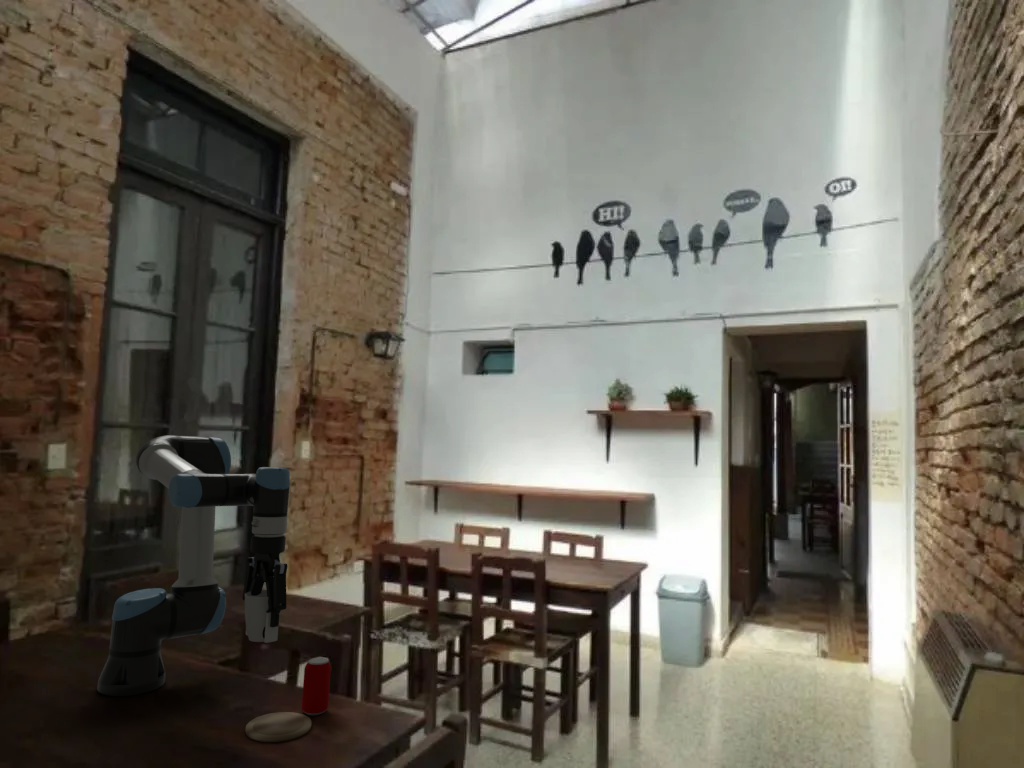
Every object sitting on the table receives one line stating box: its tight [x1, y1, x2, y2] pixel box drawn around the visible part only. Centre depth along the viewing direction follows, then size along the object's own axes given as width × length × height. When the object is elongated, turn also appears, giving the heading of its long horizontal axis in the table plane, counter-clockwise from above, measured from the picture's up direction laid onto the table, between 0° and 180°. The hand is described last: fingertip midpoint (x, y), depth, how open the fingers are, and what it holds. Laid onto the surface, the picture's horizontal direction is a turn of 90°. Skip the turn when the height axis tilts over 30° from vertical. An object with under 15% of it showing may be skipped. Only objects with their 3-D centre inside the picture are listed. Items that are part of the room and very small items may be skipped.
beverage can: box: [301, 657, 332, 716], centre depth 158 cm, size 6×6×12 cm
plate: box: [244, 711, 312, 743], centre depth 148 cm, size 14×14×1 cm
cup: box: [244, 589, 282, 643], centre depth 149 cm, size 8×8×10 cm
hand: (261, 637), depth 148 cm, fingers closed on cup, 8 cm apart
